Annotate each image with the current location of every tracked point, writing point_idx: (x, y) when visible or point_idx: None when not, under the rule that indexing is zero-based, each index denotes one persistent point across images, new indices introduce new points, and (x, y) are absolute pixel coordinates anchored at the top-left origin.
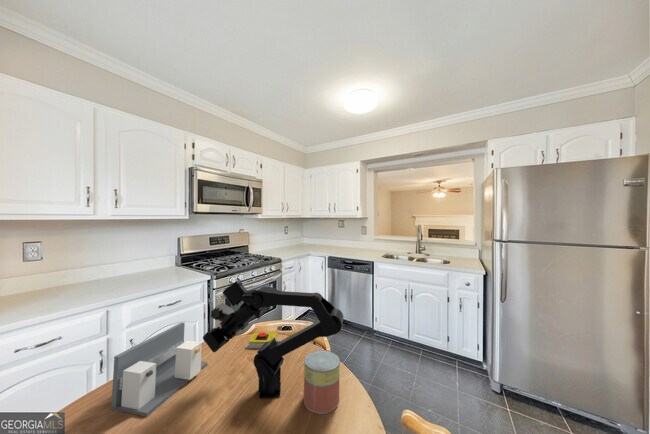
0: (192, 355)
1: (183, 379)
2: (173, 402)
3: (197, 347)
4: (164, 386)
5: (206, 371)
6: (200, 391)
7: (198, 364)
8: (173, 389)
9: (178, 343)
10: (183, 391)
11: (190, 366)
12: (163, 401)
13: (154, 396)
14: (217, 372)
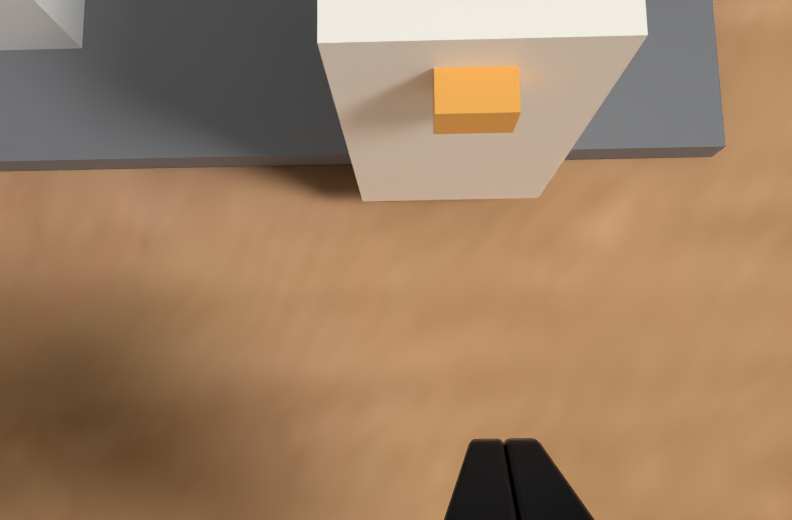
0: (366, 98)
1: None
2: (100, 259)
3: (501, 59)
4: (228, 14)
5: (600, 235)
6: (286, 413)
7: (508, 168)
8: (205, 140)
9: None
10: (251, 235)
11: (350, 150)
12: (74, 167)
13: (77, 46)
14: (620, 380)
